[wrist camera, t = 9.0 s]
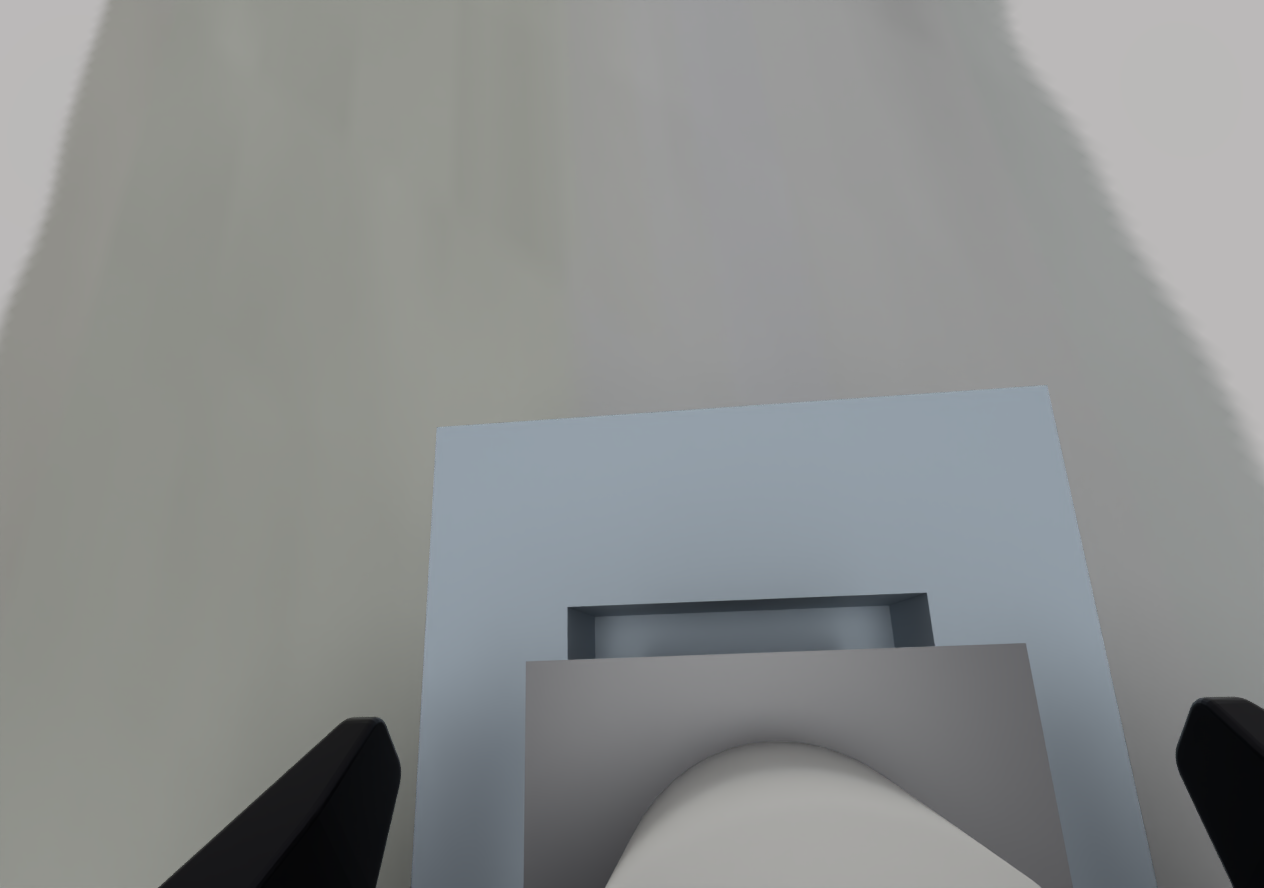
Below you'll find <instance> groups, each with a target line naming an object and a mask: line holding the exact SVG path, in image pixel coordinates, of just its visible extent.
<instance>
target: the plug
mask: <svg viewBox="0 0 1264 888" xmlns="http://www.w3.org/2000/svg"><path fill="white" fill-rule="evenodd" d="M523 888H1073V885H1072V879H1071V874H1070V869H1069V864H1068V859H1067V854H1066V848H1065V843H1064V838H1063V833H1062V828H1061V822H1060V817H1059V812H1058V807H1057V802H1056V797H1055V791H1054V786H1053V781H1052V776H1051V771H1050V766H1049V760H1048V755H1047V750H1046V745H1045V740H1044V734H1043V729H1042V724H1041V719H1040V714H1039V709H1038V703H1037V698H1036V693H1035V688H1034V683H1033V678H1032V672H1031V667H1030V662H1029V657H1028V652H1027V646H1026V643H1012V644H985V645H958V646H930V647H903V648H876V649H849V650H821V651H794V652H767V653H740V654H712V655H685V656H658V657H631V658H604V659H576V660H549V661H526V698H525V792H524V885H523Z"/></svg>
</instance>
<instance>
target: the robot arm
mask: <svg viewBox="0 0 1264 888" xmlns="http://www.w3.org/2000/svg"><path fill="white" fill-rule="evenodd" d="M1176 763H1177V767H1178V770H1179V773H1180V775H1181V778H1182V780H1183V782H1184V784H1185V786H1186V788H1187V790H1188V793H1189V795H1190V797H1191V799H1192V801H1193V803H1194V805H1195V807H1196V809H1197V812H1198V814H1199V816H1200V818H1201V820H1202V822H1203V824H1204V826H1205V829H1206V831H1207V833H1208V835H1209V837H1210V839H1211V841H1212V843H1213V846H1214V848H1215V850H1216V852H1217V854H1218V856H1219V858H1220V860H1221V862H1222V865H1223V867H1224V869H1225V871H1226V873H1227V875H1228V877H1229V879H1230V882H1231V884H1232V886H1233V888H1264V709H1262V708H1261V707H1259V706H1257V705H1256V704H1254V703H1252V702H1250V701H1248V700H1246V699H1243V698H1239V697H1204V698H1199V699H1198V700H1196V701H1195V702H1194V703H1193V704H1192V706H1191V708H1190V711H1189V714H1188V716H1187V719H1186V722H1185V725H1184V728H1183V730H1182V733H1181V736H1180V739H1179V741H1178V744H1177V748H1176ZM400 779H401V767H400V761H399V758H398V756H397V753H396V750H395V748H394V745H393V742H392V740H391V737H390V735H389V732H388V729H387V727H386V724H385V722H384V721H383V720H382V719H380V718H378V717H354V718H349V719H346V720H345V721H343V722H342V723H340V724H339V725H338V726H337V727H336V728H335V729H333V730H332V731H331V732H330V733H329V734H328V735H327V736H326V737H325V738H324V739H322V740H321V741H320V742H319V743H318V744H317V745H316V746H315V747H314V748H312V749H311V750H310V751H309V752H308V753H307V754H306V755H305V756H304V757H302V758H301V759H300V760H299V761H298V762H297V763H296V764H295V765H294V766H293V767H291V768H290V769H289V770H288V771H287V772H286V773H285V774H284V775H283V776H281V777H280V778H279V779H278V780H277V781H276V782H275V783H274V784H273V785H271V786H270V787H269V788H268V789H267V790H266V791H265V792H264V793H263V794H262V795H260V796H259V797H258V798H257V799H256V800H255V801H254V802H253V803H252V804H250V805H249V806H248V807H247V808H246V809H245V810H244V811H243V812H242V813H240V814H239V815H238V816H237V817H236V818H235V819H234V820H233V821H232V822H230V823H229V824H228V825H227V826H226V827H225V828H224V829H223V830H222V831H221V832H219V833H218V834H217V835H216V836H215V837H214V838H213V839H212V840H211V841H209V842H208V843H207V844H206V845H205V846H204V847H203V848H202V849H201V850H199V851H198V852H197V853H196V854H195V855H194V856H193V857H192V858H191V859H190V860H188V861H187V862H186V863H185V864H184V865H183V866H182V867H181V868H180V869H178V870H177V871H176V872H175V873H174V874H173V875H172V876H171V877H170V878H168V879H167V880H166V881H165V882H164V883H163V884H162V885H161V886H160V887H158V888H376V884H377V880H378V876H379V871H380V867H381V863H382V859H383V854H384V850H385V846H386V841H387V837H388V833H389V828H390V824H391V820H392V815H393V811H394V807H395V802H396V798H397V794H398V790H399V785H400Z"/></svg>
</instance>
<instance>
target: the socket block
mask: <svg viewBox="0 0 1264 888" xmlns="http://www.w3.org/2000/svg"><path fill="white" fill-rule="evenodd" d="M1012 643H1026V646H1027V652H1028V657H1029V662H1030V667H1031V672H1032V678H1033V683H1034V688H1035V693H1036V698H1037V703H1038V709H1039V714H1040V719H1041V724H1042V729H1043V734H1044V740H1045V745H1046V750H1047V755H1048V760H1049V766H1050V771H1051V776H1052V781H1053V786H1054V791H1055V797H1056V802H1057V807H1058V812H1059V817H1060V822H1061V828H1062V833H1063V838H1064V843H1065V848H1066V854H1067V859H1068V864H1069V869H1070V874H1071V879H1072V885H1073V888H1158V887H1157V882H1156V878H1155V873H1154V869H1153V864H1152V859H1151V855H1150V850H1149V846H1148V841H1147V837H1146V832H1145V828H1144V823H1143V819H1142V814H1141V810H1140V805H1139V800H1138V796H1137V791H1136V787H1135V782H1134V778H1133V773H1132V769H1131V764H1130V760H1129V755H1128V751H1127V746H1126V741H1125V737H1124V732H1123V728H1122V723H1121V719H1120V714H1119V710H1118V705H1117V701H1116V696H1115V692H1114V687H1113V682H1112V678H1111V673H1110V669H1109V664H1108V660H1107V655H1106V651H1105V646H1104V642H1103V637H1102V633H1101V628H1100V623H1099V619H1098V614H1097V610H1096V605H1095V601H1094V596H1093V592H1092V587H1091V583H1090V578H1089V574H1088V569H1087V564H1086V560H1085V555H1084V551H1083V546H1082V542H1081V537H1080V533H1079V528H1078V524H1077V519H1076V515H1075V510H1074V505H1073V501H1072V496H1071V492H1070V487H1069V483H1068V478H1067V474H1066V469H1065V465H1064V460H1063V456H1062V451H1061V446H1060V442H1059V437H1058V433H1057V428H1056V424H1055V419H1054V415H1053V410H1052V406H1051V401H1050V397H1049V392H1048V387H1047V385H1042V386H1028V387H1013V388H999V389H984V390H970V391H955V392H941V393H926V394H912V395H897V396H883V397H868V398H854V399H839V400H825V401H810V402H796V403H781V404H767V405H752V406H738V407H723V408H709V409H694V410H680V411H665V412H651V413H636V414H622V415H608V416H593V417H579V418H564V419H550V420H535V421H521V422H506V423H492V424H477V425H463V426H448V427H437V434H436V451H435V469H434V487H433V505H432V522H431V540H430V558H429V576H428V594H427V611H426V629H425V647H424V665H423V682H422V700H421V718H420V736H419V753H418V771H417V789H416V807H415V824H414V842H413V860H412V878H411V888H523V885H524V792H525V698H526V661H549V660H576V659H604V658H631V657H658V656H685V655H712V654H740V653H767V652H794V651H821V650H849V649H876V648H903V647H930V646H958V645H985V644H1012Z"/></svg>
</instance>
